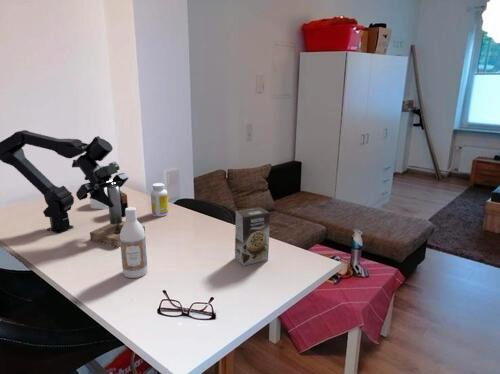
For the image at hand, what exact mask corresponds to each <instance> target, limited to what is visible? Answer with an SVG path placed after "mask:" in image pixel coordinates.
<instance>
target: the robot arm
mask: <svg viewBox="0 0 500 374" xmlns="http://www.w3.org/2000/svg"><path fill="white" fill-rule="evenodd" d="M26 145H29V146H33V147H36V148H37V147H38V148H40V149H45V150H51V151H53V152H54V153H56V154H57V155H58V156H61V157H64V158H66V159H73V158H75V157H76V159H73V160H72V164H71V167H72V168H79V169H80V171H82V173H83V174H84V176H85V177H84V180H85V181H88V182H87V183H83V184H81V185H80V187H79V188H78V189H77V191H76V192H75V195H76V197H77V199H78V200H79V201H82V200H85V199H87V198H88V196H89V200H90V199H94V200H97V201H99V202H101V203H103V204H105V205H107V206H109V207H111V208H112V207H113V204H112V202H111V201H110V199H109V198H108V196H107V195H106V194H105V192H104V188H106V187H107V186H110V185H118V186H119V190H120V191H121V189H120V188H122V187H123V186H124V185H125V183H126V182H127V181H128V179H129V176H128V175H127V174H126V173H124V172H122V173H119V174H118V171H119V170H120V166H119V163H117V162H116V161H112V162H110V163H108V165H105V166H104V165H100V164H99V163H98V162H102V161H103V160H104V159H105V158H106V157H107V156H108V155H109V154H110V153H111V152H112V151H113V145H112V144H111V143H110V142H109V141H107V140H105V139H104V138H101V137H100V136H99V135H98V136H94V138H93V139H92V141H91V142H89V143H86V142H83V141H82V140H81V139H78V138H57V137H53V136H48V135H44V134H41V133H35V132H33V131H29V130H27V129H23V130H19V131H15V132H14V133H13V134H11V135H10V136H9V137H7V138H5V139H3V140H1V141H0V161H1V162H2V163H4V164H7V165H9V166H12V167H13V168H15V170H17V171H18V172H19V173H20V174H21V175H22V176H23V177H24V178H25V179H26V180H27V181H28V182H29V183H30V184H31V185H32V186H34V188H36V189H37V190H38V191H39V192H40V193H41V194H42V196H43V198H44V201H45V203H46V205H47V207H46V208H45V209H44V210H43V212H42V213H43V215H44V216H45V218H49V223H50V227H48V228H47V231H50V232H53V233H57V234H61V233H62V232H65V231H68V230H70V229H74V225H71V223H70V218H69V213H68V212H69V211H71V209H72V206H73V205H74V203H75V197H74V196H73V195H72V194H73V193H72V192H71V191H69V190H68V188H67V187H66V186H64V185H61V186H57V185H55V184H53V182H52V181H50V179H48V178H47V177H46V175H44V174H43V173H42V172H41V170H39V169H38V168H37V167H36V166H35V165H34V164H33V163H32V162H31V161H30V160H29V159H28V158H27V157H26V155H25V151H24V149H23V148H24V147H25V146H26ZM114 174H115V175H114ZM113 175H114V176H113ZM112 177H113V178H112ZM110 179H111V180H110ZM90 195H91V196H90ZM120 202H121V204H122V203H123V200H122V196H121V192H120Z"/></svg>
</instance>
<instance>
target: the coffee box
mask: <svg viewBox="0 0 500 374" xmlns="http://www.w3.org/2000/svg"><path fill="white" fill-rule="evenodd" d="M270 218H271V212H269V211H268V210H266V209H264V208H263V207H261V206H260V207H251V208H245V209H241V210H235V234H234V235H235V239H234V240H235V241H234V258H235V259H236V260H237V262H239V263H240V264H241V265H242V267H243V266H244V267H245V266H249V265H252V264H256V263H261V262H266V261H269V249H270V245H269V244H270V222H271V219H270Z"/></svg>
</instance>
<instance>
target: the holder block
mask: <svg viewBox="0 0 500 374" xmlns="http://www.w3.org/2000/svg"><path fill="white" fill-rule="evenodd" d="M125 222H126V221H123V220H122V223H120V224H115V225H114V224H110V223H108V224H105V225H104V226H101V227H98V228H96V229H94V230H90V231H89V237H90V241H92V240H93V241H92V242H95V241H97V242H96V243H99V242H100V243H99V244H102V243H104V244H103V245H106V244H107V245H106V246H109V245H111V246H110V247H113V246H114V247H113V248H116V247H117V249H120V248H121V245H120V232H121V229H122V227H123V225H124V224H125ZM142 227H143V229H144V231H145V232H146V227H145V225H142ZM117 233H119V234H117ZM119 247H120V248H119Z"/></svg>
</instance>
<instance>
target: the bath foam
mask: <svg viewBox="0 0 500 374" xmlns="http://www.w3.org/2000/svg"><path fill="white" fill-rule="evenodd" d="M137 214H138V213H137V207H135V206H128V208H126V209H125V215H126V216H125V221H124V222H125V224H124V225H123V227H122V229H121V232H119V234H120V245H121V247H120V254H121V266H122V273H123V276H124V277H126V278H129V279H137V278H141V277H143V276H145V275H146V274H147V273H148V255H147V252H148V251H147V238H146V237H147V236H146V230H145V231H144V229H143V227H142V226H143V225H142V224H141V223H140V222H139V220H138V219H137V218H138V217H137Z"/></svg>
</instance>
